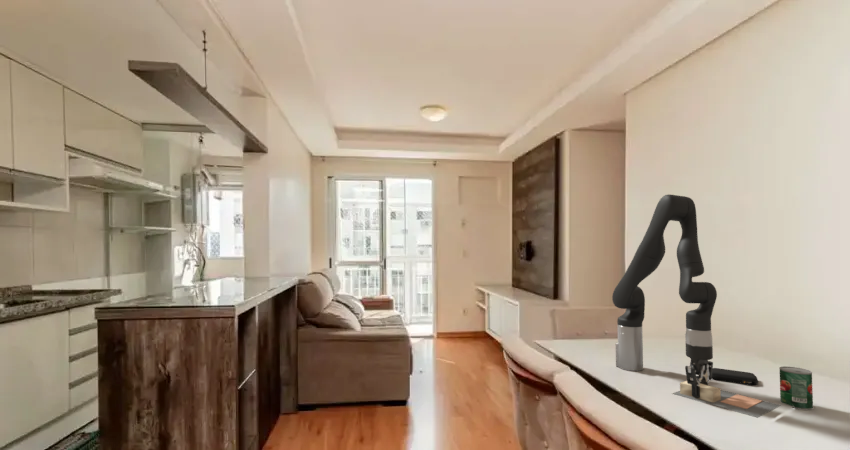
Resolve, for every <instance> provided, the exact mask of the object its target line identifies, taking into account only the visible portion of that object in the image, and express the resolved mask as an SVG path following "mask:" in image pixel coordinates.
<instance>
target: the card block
mask: <svg viewBox="0 0 850 450" xmlns="http://www.w3.org/2000/svg"><path fill="white" fill-rule="evenodd" d="M721 390H722V389H721V388H720V387H717V386H712V385H709V384H708V385H704V384H700V397H699V398H698V399H702V400H706V401H709V402H713V403H714V402H716V401H719V400H721ZM679 391H680V394H684V395H688V396H691V397H693V396H692V385H691V384H688V383H687V380H685V381H682V382H679ZM695 398H696V397H695Z"/></svg>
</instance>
